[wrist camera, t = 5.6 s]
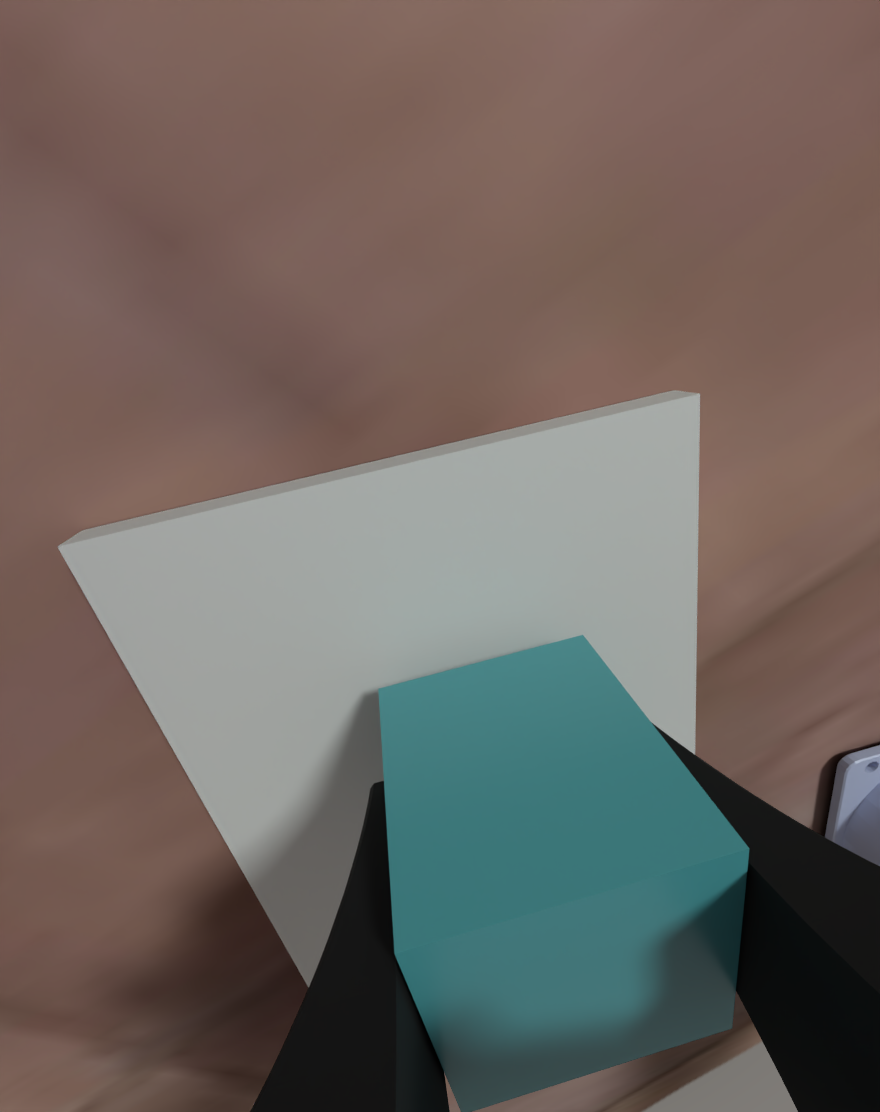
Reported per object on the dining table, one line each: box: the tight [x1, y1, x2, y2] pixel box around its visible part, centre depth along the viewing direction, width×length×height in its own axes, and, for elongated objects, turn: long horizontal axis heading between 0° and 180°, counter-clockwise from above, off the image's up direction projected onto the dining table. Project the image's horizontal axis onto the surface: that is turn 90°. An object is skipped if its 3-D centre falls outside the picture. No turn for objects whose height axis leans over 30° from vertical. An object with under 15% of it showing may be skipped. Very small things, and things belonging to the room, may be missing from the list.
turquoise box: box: [378, 635, 749, 1112], centre depth 10 cm, size 5×5×6 cm
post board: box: [58, 390, 700, 988], centre depth 13 cm, size 14×20×5 cm
